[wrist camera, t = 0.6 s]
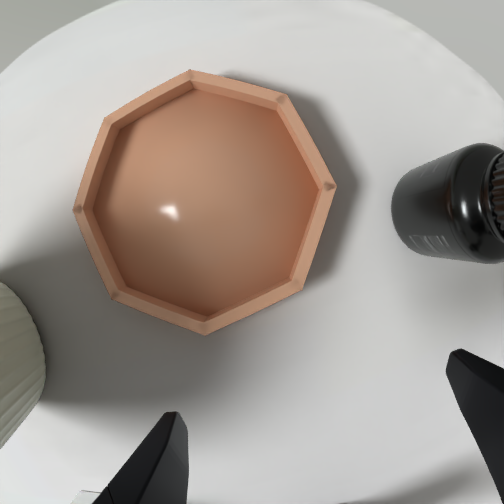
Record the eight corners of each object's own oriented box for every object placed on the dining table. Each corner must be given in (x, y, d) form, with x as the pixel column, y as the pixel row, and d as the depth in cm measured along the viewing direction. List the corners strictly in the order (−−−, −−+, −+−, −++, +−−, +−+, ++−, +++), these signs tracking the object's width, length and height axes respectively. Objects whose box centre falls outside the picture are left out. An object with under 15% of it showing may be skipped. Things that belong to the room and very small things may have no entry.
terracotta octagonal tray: (358, 252, 22) (369, 255, 20) (155, 349, 23) (145, 361, 20) (254, 58, 21) (253, 41, 19) (69, 159, 22) (53, 153, 20)
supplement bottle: (469, 231, 22) (579, 235, 10) (409, 270, 22) (516, 301, 10) (438, 154, 22) (541, 113, 10) (373, 187, 22) (469, 152, 10)
